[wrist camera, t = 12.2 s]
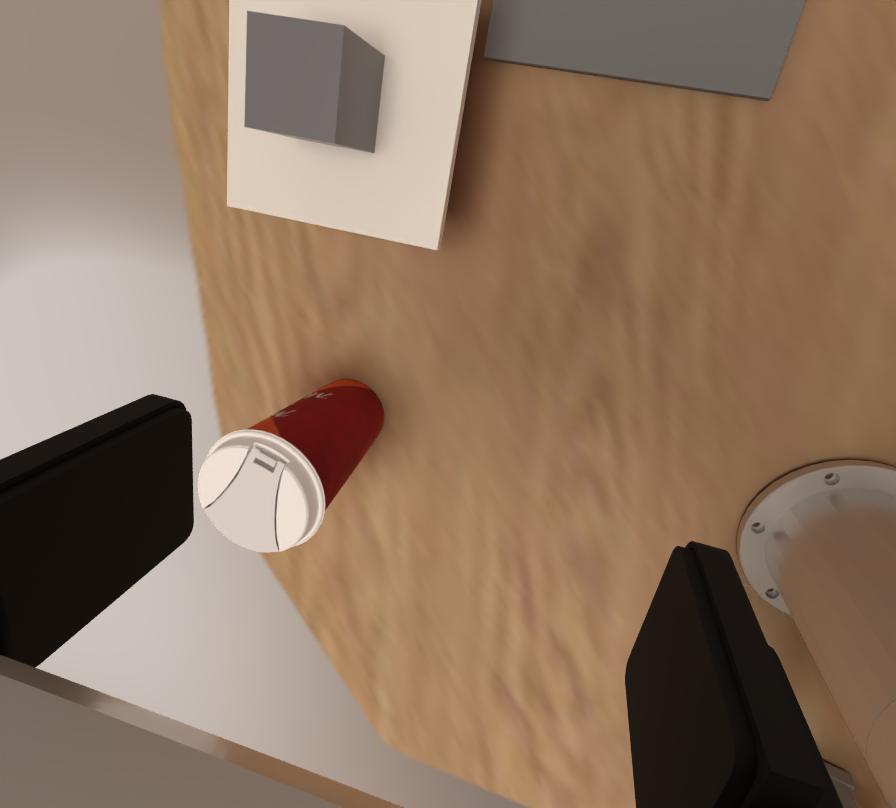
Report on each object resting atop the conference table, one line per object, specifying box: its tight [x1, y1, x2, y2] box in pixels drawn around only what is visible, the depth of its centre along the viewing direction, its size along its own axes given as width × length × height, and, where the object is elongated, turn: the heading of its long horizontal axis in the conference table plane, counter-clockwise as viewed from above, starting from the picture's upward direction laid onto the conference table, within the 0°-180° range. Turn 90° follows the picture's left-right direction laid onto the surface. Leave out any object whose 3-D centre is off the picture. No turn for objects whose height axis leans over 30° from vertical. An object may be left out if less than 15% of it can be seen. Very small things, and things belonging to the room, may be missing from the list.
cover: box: [227, 0, 482, 250], centre depth 26 cm, size 13×13×6 cm
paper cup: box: [198, 380, 384, 552], centre depth 36 cm, size 8×8×14 cm
